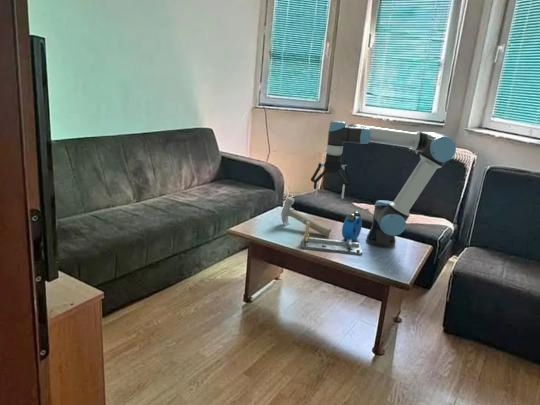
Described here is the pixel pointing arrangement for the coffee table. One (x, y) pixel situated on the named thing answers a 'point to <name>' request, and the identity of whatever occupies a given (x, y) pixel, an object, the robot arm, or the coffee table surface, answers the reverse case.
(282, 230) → the coffee table surface
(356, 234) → the alarm clock
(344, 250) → the bolt plate
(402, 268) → the coffee table surface
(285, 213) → the hammer
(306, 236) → the sliding leg
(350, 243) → the bar
